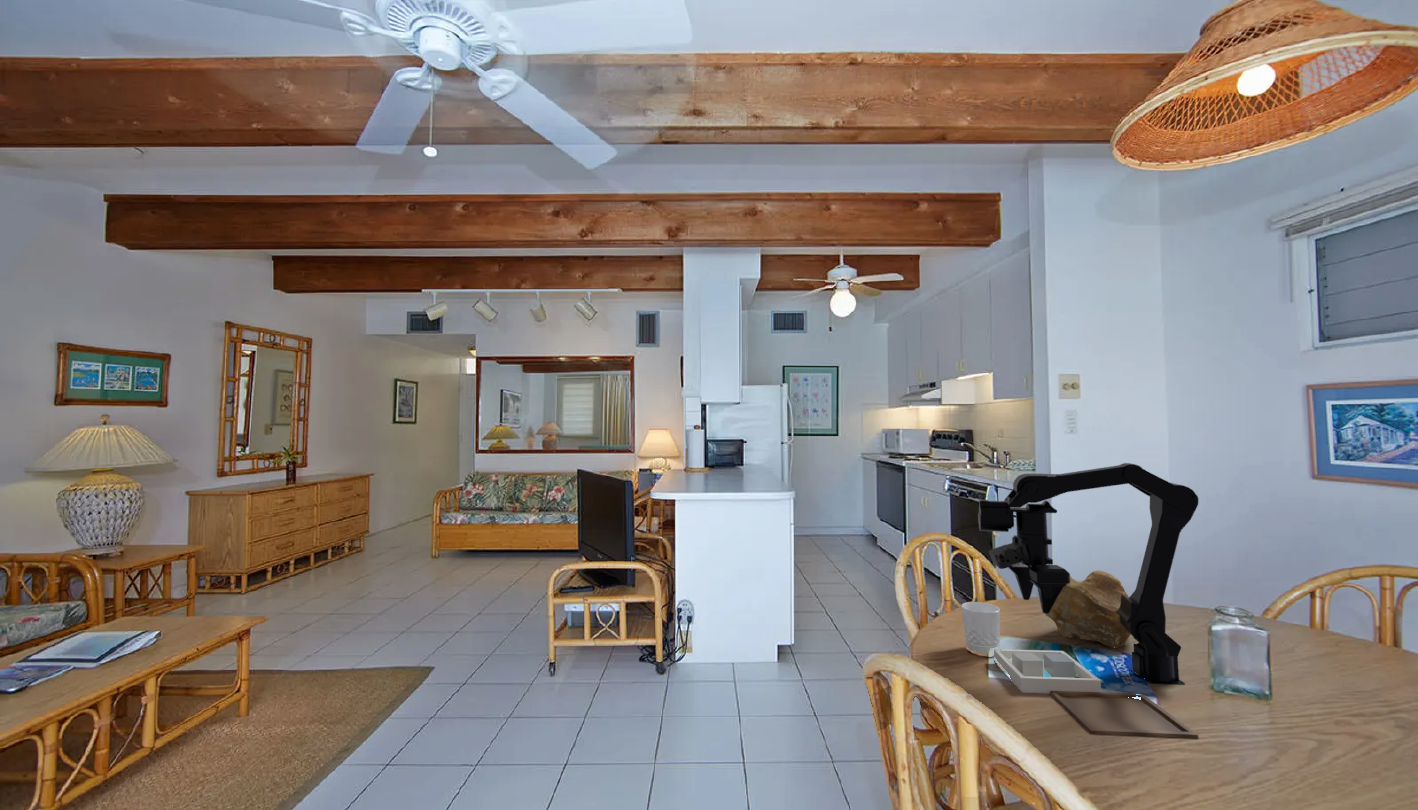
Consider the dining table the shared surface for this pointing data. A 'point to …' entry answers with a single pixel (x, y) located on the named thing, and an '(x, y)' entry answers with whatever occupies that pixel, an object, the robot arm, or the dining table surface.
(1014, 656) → the small grey cuboid
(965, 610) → the white cup
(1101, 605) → the rough brown rock
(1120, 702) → the walnut tray
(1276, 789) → the dining table surface
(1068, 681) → the cream dish
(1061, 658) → the grey block
